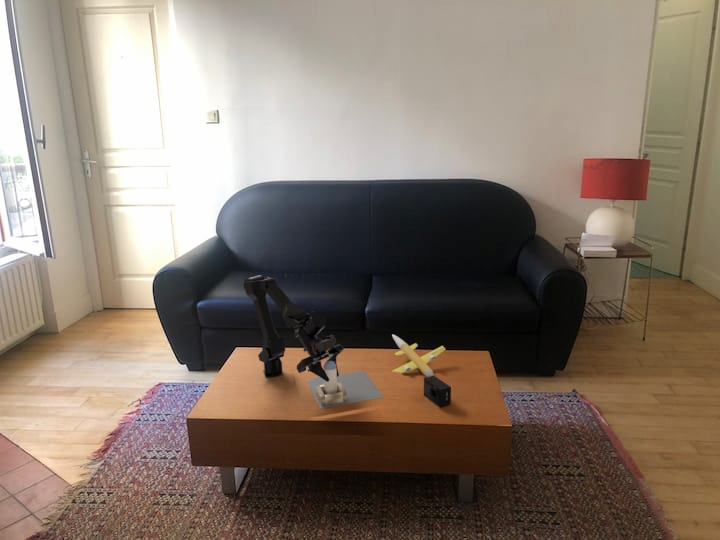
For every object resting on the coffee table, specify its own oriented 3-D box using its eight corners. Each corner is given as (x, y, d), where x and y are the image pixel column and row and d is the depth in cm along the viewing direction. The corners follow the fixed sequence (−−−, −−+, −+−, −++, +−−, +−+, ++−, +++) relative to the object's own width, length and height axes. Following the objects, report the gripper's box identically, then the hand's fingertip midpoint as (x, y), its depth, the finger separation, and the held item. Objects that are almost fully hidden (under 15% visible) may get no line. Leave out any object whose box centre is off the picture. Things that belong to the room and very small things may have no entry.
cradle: (321, 405, 184) (321, 397, 183) (315, 393, 193) (315, 385, 192) (347, 401, 187) (347, 393, 186) (340, 389, 195) (340, 381, 194)
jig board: (320, 411, 182) (320, 408, 182) (306, 381, 204) (306, 379, 203) (384, 399, 189) (384, 397, 189) (364, 372, 210) (364, 370, 210)
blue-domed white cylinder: (323, 396, 187) (322, 363, 184) (326, 390, 192) (324, 358, 189) (336, 396, 187) (335, 364, 184) (338, 390, 191) (337, 358, 188)
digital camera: (420, 396, 191) (420, 378, 189) (433, 392, 193) (433, 374, 192) (437, 409, 182) (437, 390, 180) (450, 405, 185) (451, 386, 183)
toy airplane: (461, 373, 210) (419, 331, 233) (461, 360, 206) (417, 319, 229) (405, 402, 202) (367, 356, 225) (404, 389, 198) (365, 344, 221)
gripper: (300, 338, 179) (324, 377, 175) (339, 322, 193) (363, 359, 188) (286, 353, 187) (309, 392, 182) (325, 337, 200) (347, 373, 195)
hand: (333, 378), depth 187 cm, fingers closed on blue-domed white cylinder, 4 cm apart
